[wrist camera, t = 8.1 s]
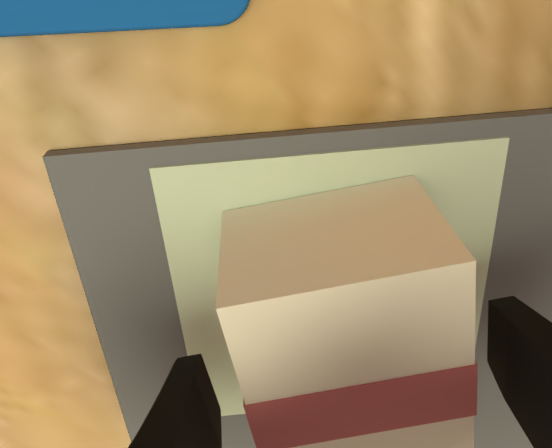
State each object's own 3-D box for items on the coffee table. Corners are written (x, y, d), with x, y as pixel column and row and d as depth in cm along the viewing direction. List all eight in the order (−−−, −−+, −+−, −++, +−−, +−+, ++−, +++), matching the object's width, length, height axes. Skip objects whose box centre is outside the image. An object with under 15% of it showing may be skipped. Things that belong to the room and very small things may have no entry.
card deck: (425, 369, 17) (476, 486, 13) (270, 396, 17) (279, 519, 13) (415, 174, 13) (479, 260, 10) (220, 211, 13) (213, 310, 10)
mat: (830, 84, 13) (851, 89, 13) (649, 476, 21) (658, 487, 21) (47, 150, 13) (41, 158, 12) (161, 524, 21) (159, 536, 20)
